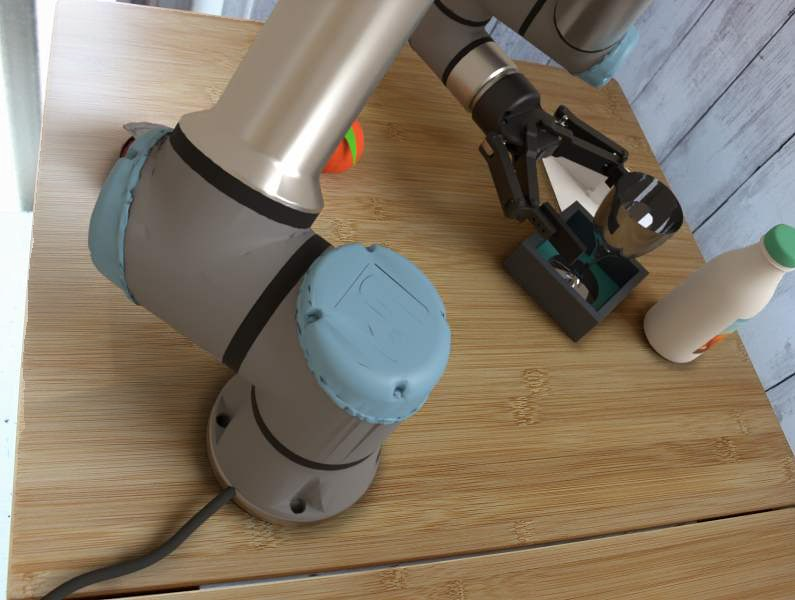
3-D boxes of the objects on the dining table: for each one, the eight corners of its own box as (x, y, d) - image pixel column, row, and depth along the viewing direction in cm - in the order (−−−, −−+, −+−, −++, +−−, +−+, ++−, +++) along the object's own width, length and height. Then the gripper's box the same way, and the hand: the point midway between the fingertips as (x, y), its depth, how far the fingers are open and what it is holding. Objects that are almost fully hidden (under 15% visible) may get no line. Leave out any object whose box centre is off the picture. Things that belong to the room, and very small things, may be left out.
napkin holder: (533, 140, 109) (556, 110, 104) (603, 147, 114) (627, 118, 109) (570, 235, 102) (596, 206, 97) (642, 238, 107) (670, 211, 102)
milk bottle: (656, 367, 96) (784, 274, 80) (631, 309, 99) (749, 208, 84) (706, 363, 99) (837, 273, 84) (680, 306, 103) (801, 210, 87)
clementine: (366, 188, 93) (389, 146, 87) (313, 199, 89) (333, 156, 84) (335, 133, 96) (356, 89, 90) (281, 141, 92) (300, 96, 86)
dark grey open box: (575, 343, 93) (599, 322, 89) (501, 265, 95) (521, 242, 91) (626, 293, 100) (649, 272, 97) (556, 222, 102) (576, 199, 98)
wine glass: (571, 243, 100) (647, 163, 88) (613, 294, 98) (696, 220, 86) (529, 265, 95) (603, 183, 84) (572, 319, 93) (654, 244, 82)
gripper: (545, 92, 105) (656, 220, 100) (403, 143, 90) (525, 296, 85) (578, 48, 99) (697, 181, 94) (431, 95, 84) (564, 255, 80)
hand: (616, 236), depth 90 cm, fingers open, 13 cm apart
